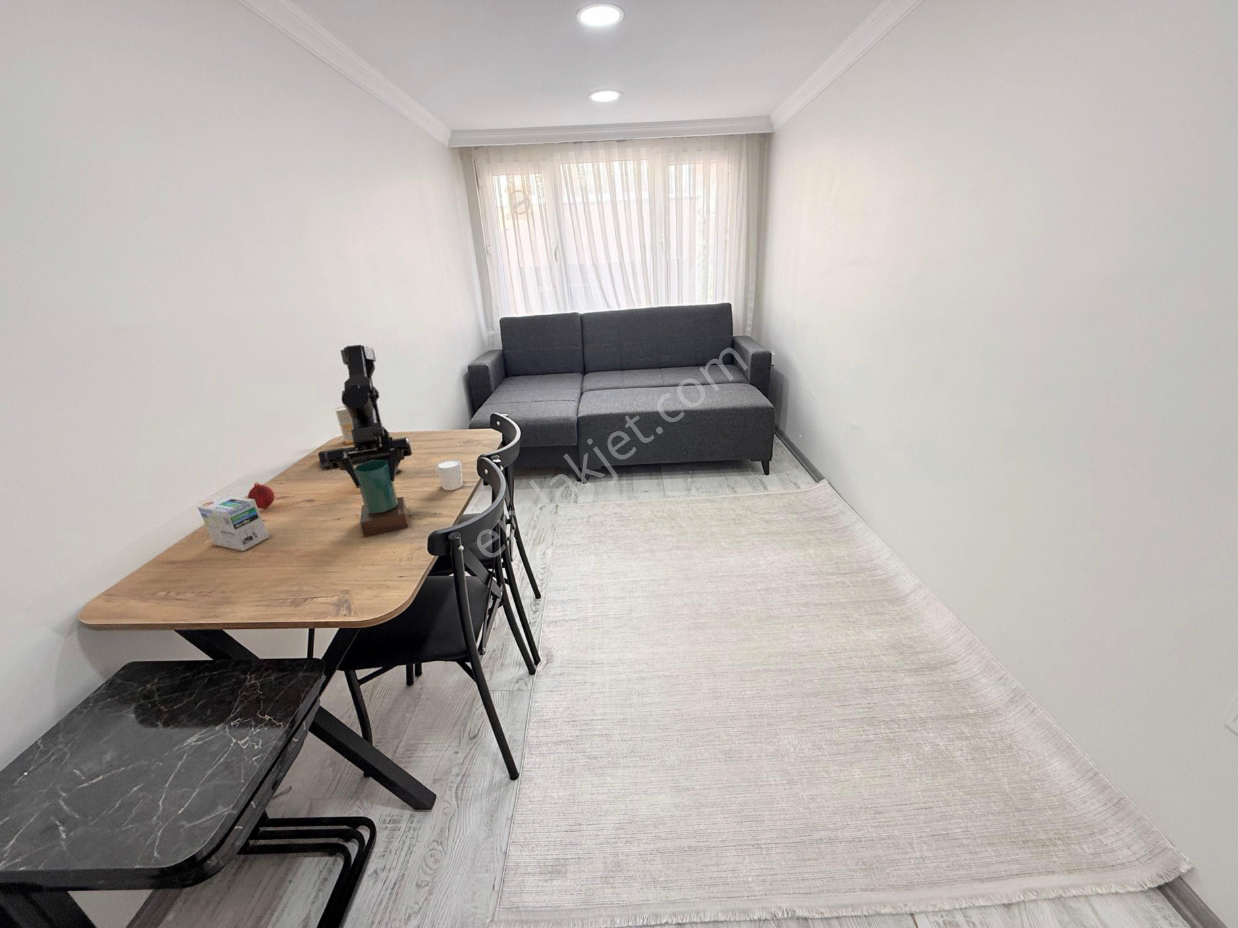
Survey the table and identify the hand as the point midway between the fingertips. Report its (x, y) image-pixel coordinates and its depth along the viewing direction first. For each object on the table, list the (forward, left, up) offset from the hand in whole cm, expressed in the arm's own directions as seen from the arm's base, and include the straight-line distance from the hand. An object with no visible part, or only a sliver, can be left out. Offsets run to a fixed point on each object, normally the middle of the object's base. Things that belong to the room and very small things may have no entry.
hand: (375, 484), depth 120 cm
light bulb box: (-26, -21, -12) cm, 36 cm away
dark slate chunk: (-50, +26, -12) cm, 58 cm away
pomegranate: (-39, -9, -12) cm, 42 cm away
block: (-1, +1, -11) cm, 12 cm away
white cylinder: (-2, +24, -12) cm, 27 cm away
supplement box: (-66, +36, -12) cm, 76 cm away
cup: (-1, +1, -7) cm, 7 cm away
